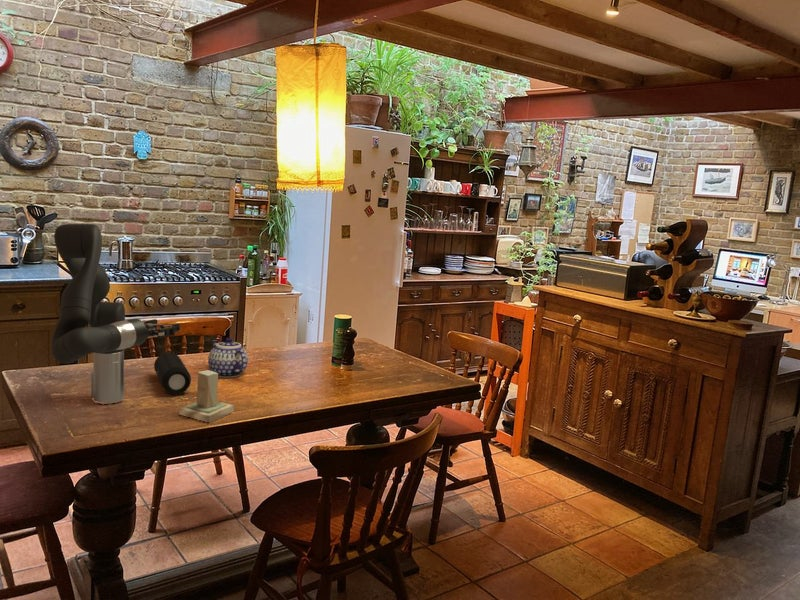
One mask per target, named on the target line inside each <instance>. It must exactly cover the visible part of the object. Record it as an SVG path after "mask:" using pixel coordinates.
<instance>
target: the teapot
mask: <svg viewBox="0 0 800 600" xmlns="http://www.w3.org/2000/svg"><path fill="white" fill-rule="evenodd" d="M212 345H213V348H212V349H211V350H210V351H209V354H208V358H207V361H208V362H207V364H208V368H209V370H210V371H213V372H216V373H218V378H221V377H223V378H222V379H231V378H237V377H240V376H241V375H242V373H244V372H245V370H246V368H247V367H248V361H249V356H248V352H247V349H245V348H244V347H243V346H242V344H241V343H240V342H235V341H233V338H232V337H226V338H225V341H221V342H220V341H219V340H217V339H216V340H215V339H214V340H212Z"/></svg>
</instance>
